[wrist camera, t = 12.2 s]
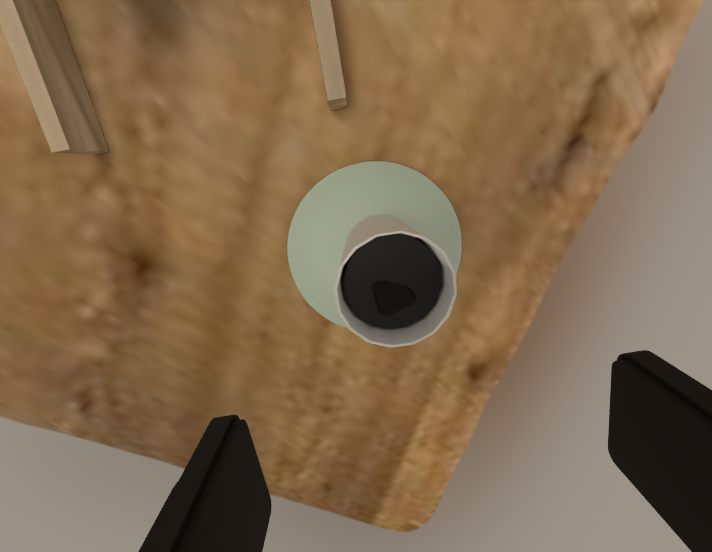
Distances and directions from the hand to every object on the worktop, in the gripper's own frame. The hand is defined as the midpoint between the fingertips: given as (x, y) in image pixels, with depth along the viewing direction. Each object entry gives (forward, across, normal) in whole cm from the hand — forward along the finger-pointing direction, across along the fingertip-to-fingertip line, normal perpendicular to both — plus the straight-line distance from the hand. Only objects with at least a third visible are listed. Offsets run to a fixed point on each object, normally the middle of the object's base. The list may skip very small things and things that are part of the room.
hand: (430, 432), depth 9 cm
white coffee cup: (+21, 0, 0) cm, 21 cm away
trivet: (+22, 0, 0) cm, 22 cm away
